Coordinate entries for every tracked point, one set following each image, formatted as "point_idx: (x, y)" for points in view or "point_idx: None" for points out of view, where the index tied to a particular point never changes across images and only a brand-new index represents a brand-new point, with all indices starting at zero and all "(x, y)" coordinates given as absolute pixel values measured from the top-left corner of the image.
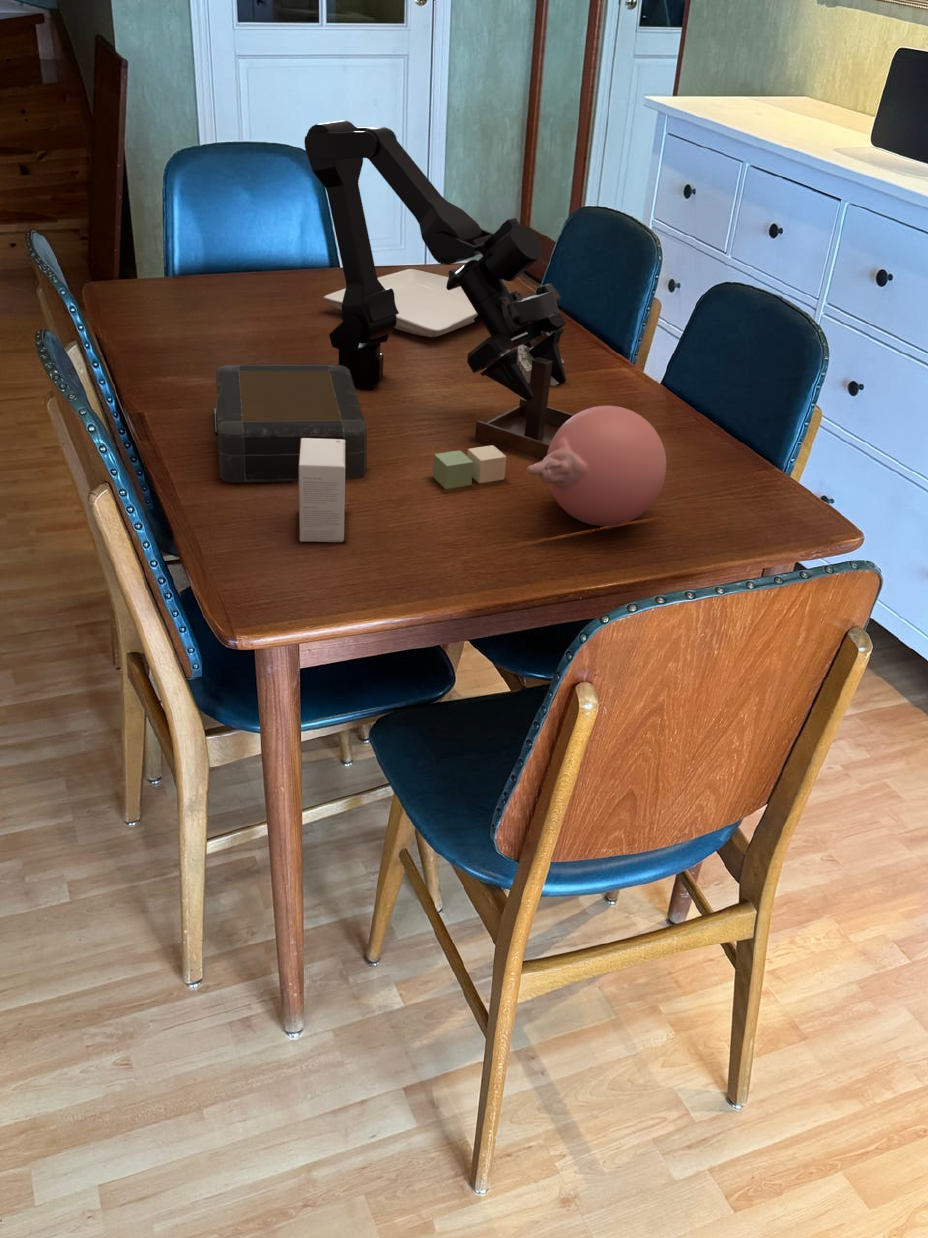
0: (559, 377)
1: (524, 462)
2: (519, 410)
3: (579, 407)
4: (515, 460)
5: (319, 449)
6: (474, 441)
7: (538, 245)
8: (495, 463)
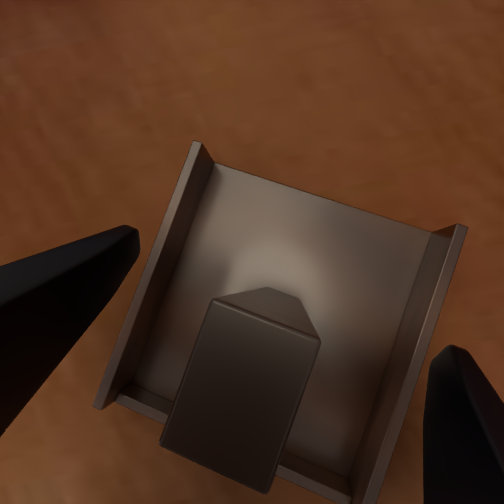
0: (121, 260)
1: None
2: (133, 393)
3: (6, 236)
4: (440, 335)
5: None
6: None
7: None
8: None
